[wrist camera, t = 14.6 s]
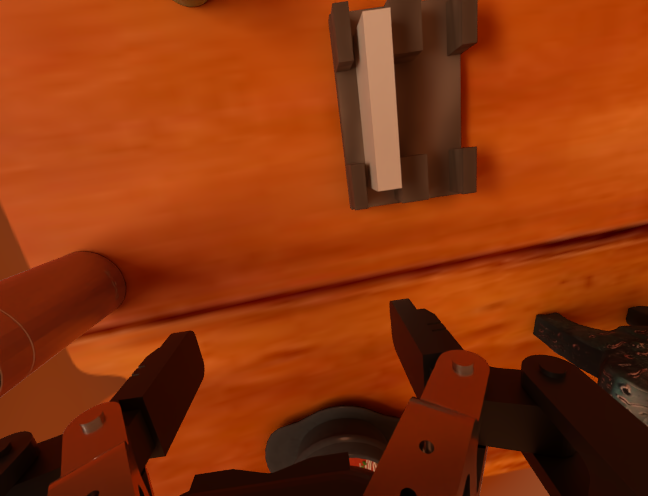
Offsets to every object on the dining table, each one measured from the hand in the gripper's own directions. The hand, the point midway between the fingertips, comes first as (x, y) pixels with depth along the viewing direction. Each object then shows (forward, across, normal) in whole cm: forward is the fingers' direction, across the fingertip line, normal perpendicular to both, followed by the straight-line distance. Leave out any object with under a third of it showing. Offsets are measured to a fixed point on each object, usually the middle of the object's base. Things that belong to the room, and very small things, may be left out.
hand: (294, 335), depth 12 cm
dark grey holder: (+28, -13, -10) cm, 33 cm away
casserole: (+28, 0, +39) cm, 48 cm away
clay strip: (+27, -10, -11) cm, 30 cm away
